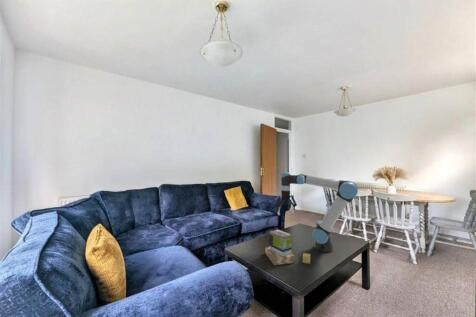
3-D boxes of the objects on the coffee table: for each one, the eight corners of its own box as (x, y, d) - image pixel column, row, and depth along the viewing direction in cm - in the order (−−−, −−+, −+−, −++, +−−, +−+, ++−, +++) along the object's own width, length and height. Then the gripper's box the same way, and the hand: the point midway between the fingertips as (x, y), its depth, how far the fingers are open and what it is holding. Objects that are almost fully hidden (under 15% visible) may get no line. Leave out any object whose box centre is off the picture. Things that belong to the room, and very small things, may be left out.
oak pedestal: (283, 251, 172) (283, 245, 172) (294, 262, 153) (294, 255, 153) (265, 253, 168) (265, 247, 168) (274, 265, 150) (274, 258, 150)
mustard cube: (310, 260, 156) (310, 254, 156) (309, 263, 151) (309, 257, 152) (303, 259, 158) (303, 252, 158) (302, 262, 153) (302, 255, 154)
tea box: (292, 253, 157) (292, 234, 157) (282, 257, 151) (282, 237, 151) (278, 246, 169) (278, 228, 169) (269, 249, 164) (268, 231, 164)
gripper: (296, 189, 187) (296, 212, 187) (270, 190, 181) (270, 214, 181) (300, 190, 180) (301, 214, 179) (274, 191, 174) (274, 216, 174)
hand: (285, 214), depth 180 cm, fingers open, 13 cm apart
